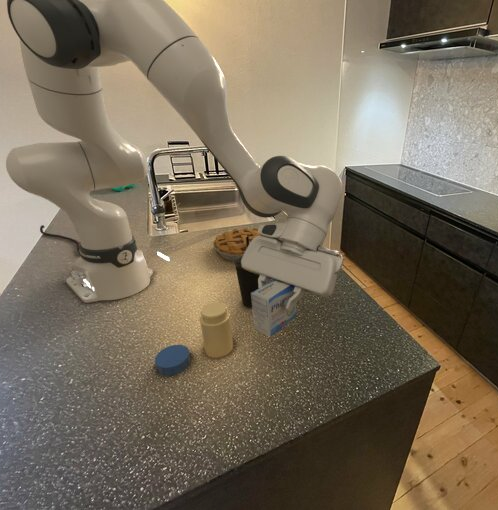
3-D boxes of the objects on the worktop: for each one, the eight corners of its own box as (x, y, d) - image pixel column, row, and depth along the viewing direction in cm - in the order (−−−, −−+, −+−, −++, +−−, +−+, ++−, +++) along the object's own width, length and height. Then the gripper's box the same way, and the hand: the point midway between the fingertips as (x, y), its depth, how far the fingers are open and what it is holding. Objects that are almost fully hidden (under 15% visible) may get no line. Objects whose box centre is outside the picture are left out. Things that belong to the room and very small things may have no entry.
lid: (173, 379, 61) (171, 371, 60) (149, 368, 63) (147, 361, 62) (197, 358, 66) (195, 350, 65) (175, 348, 68) (173, 341, 67)
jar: (199, 354, 67) (192, 315, 62) (214, 336, 72) (208, 298, 67) (224, 360, 66) (219, 320, 61) (237, 341, 71) (234, 303, 66)
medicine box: (270, 338, 57) (268, 300, 53) (253, 328, 59) (250, 291, 55) (297, 316, 63) (297, 281, 59) (280, 308, 65) (279, 274, 61)
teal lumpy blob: (107, 190, 160) (101, 171, 155) (122, 185, 168) (117, 167, 164) (124, 192, 159) (119, 173, 154) (138, 188, 167) (134, 169, 163)
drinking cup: (240, 313, 80) (234, 245, 71) (235, 298, 86) (228, 233, 77) (269, 307, 84) (266, 241, 74) (261, 292, 89) (258, 229, 80)
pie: (264, 234, 126) (263, 222, 124) (285, 256, 110) (285, 244, 108) (208, 242, 115) (206, 230, 113) (222, 269, 99) (221, 256, 97)
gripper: (350, 259, 61) (325, 325, 58) (268, 235, 69) (241, 292, 65) (342, 247, 56) (314, 319, 52) (253, 223, 63) (223, 285, 59)
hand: (272, 304), depth 59 cm, fingers closed on medicine box, 4 cm apart
